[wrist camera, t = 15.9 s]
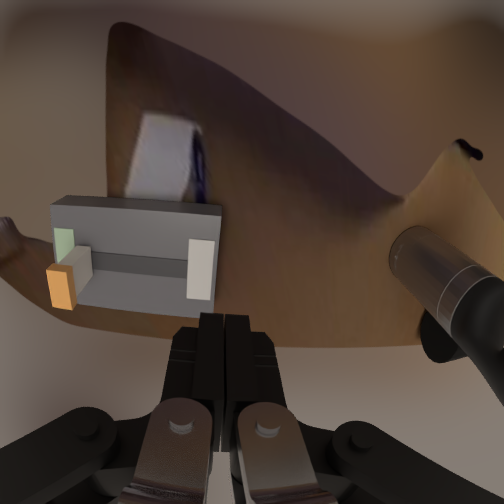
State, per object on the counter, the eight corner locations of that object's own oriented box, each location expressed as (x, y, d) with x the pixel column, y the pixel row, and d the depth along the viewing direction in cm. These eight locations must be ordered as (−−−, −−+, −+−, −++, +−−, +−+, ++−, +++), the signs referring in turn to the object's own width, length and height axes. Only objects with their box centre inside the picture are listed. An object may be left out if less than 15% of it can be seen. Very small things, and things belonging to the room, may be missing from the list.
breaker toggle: (92, 244, 36) (66, 272, 29) (95, 277, 38) (72, 310, 30) (74, 242, 36) (46, 269, 28) (77, 275, 37) (52, 306, 30)
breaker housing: (222, 205, 41) (221, 216, 36) (213, 299, 46) (212, 319, 41) (66, 195, 38) (49, 205, 34) (74, 284, 44) (60, 301, 39)
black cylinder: (504, 309, 60) (518, 344, 53) (414, 322, 53) (430, 372, 46) (530, 285, 52) (547, 322, 46) (446, 292, 45) (468, 346, 39)
